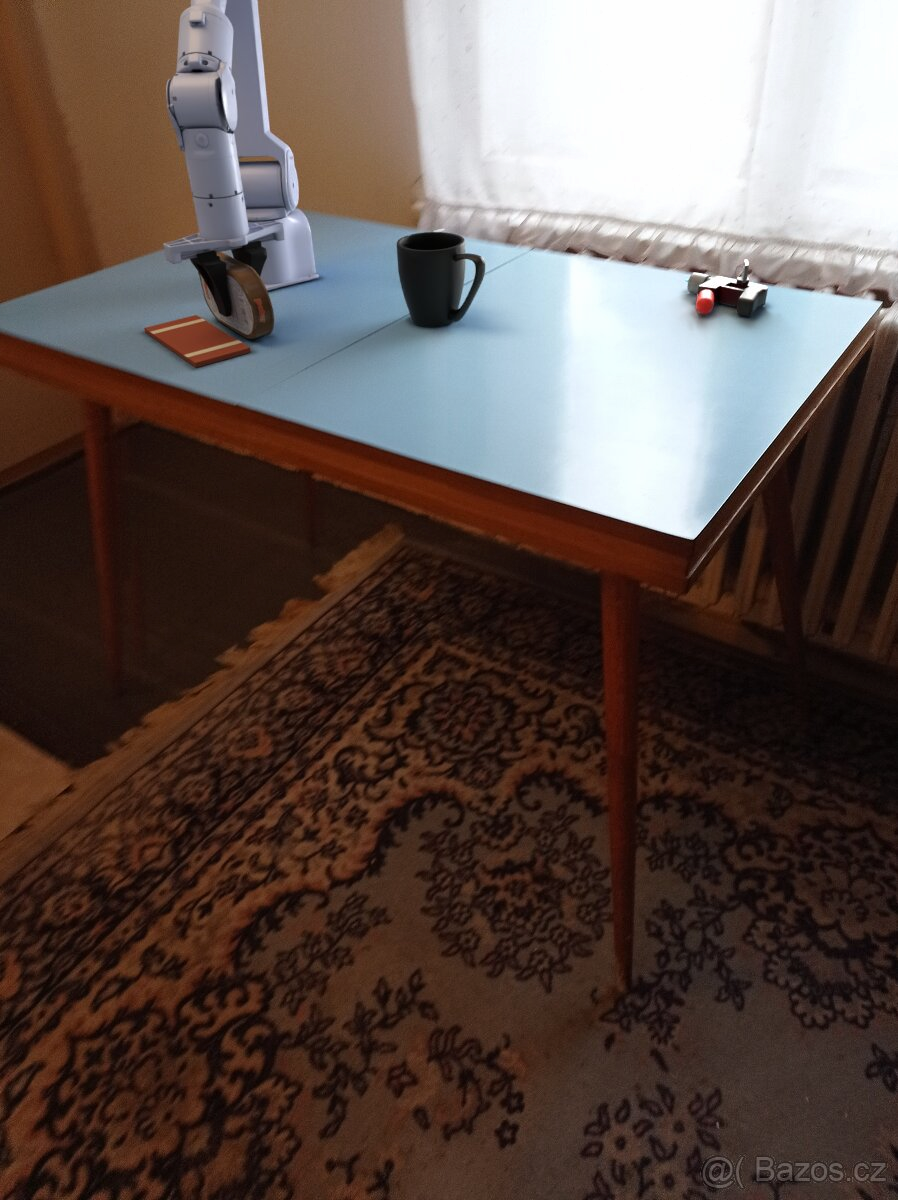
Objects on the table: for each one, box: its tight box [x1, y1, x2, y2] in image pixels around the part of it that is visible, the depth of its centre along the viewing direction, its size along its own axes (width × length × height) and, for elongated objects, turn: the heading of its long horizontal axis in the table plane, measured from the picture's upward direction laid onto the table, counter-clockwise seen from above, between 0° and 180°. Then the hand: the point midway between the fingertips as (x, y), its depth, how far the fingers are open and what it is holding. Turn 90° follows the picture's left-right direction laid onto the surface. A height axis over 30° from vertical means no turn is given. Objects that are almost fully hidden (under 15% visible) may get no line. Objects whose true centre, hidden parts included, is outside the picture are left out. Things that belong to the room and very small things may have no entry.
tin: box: [197, 251, 275, 340], centre depth 110 cm, size 15×3×8 cm, turn 37°
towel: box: [143, 314, 252, 368], centre depth 110 cm, size 7×15×1 cm, turn 37°
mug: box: [396, 231, 486, 328], centre depth 110 cm, size 8×12×10 cm
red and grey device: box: [684, 258, 769, 317], centre depth 113 cm, size 10×12×5 cm
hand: (237, 311), depth 111 cm, fingers closed on tin, 3 cm apart
